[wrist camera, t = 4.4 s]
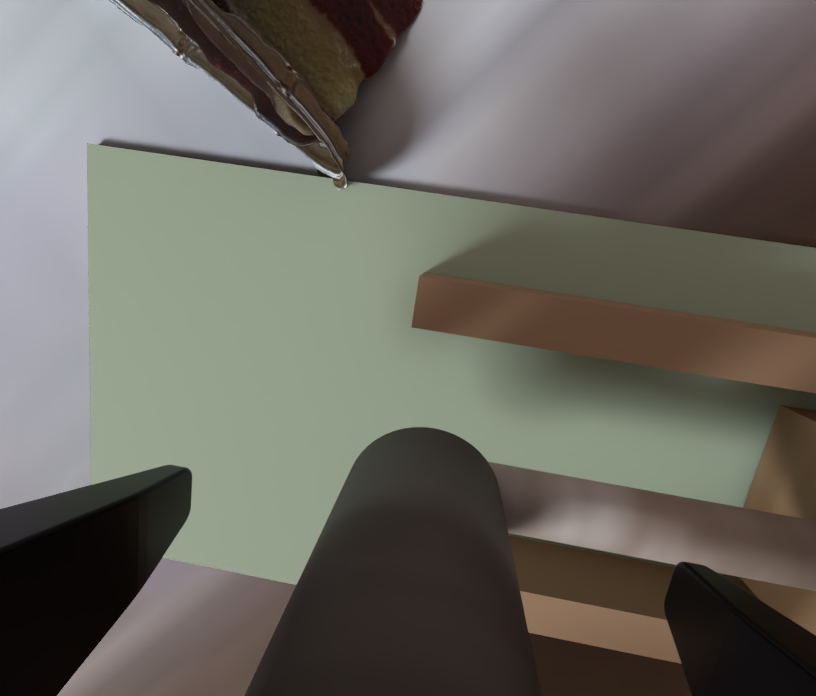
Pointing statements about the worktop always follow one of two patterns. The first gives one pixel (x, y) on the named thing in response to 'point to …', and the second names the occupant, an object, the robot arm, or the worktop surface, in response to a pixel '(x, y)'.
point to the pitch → (428, 360)
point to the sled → (508, 561)
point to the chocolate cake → (285, 58)
